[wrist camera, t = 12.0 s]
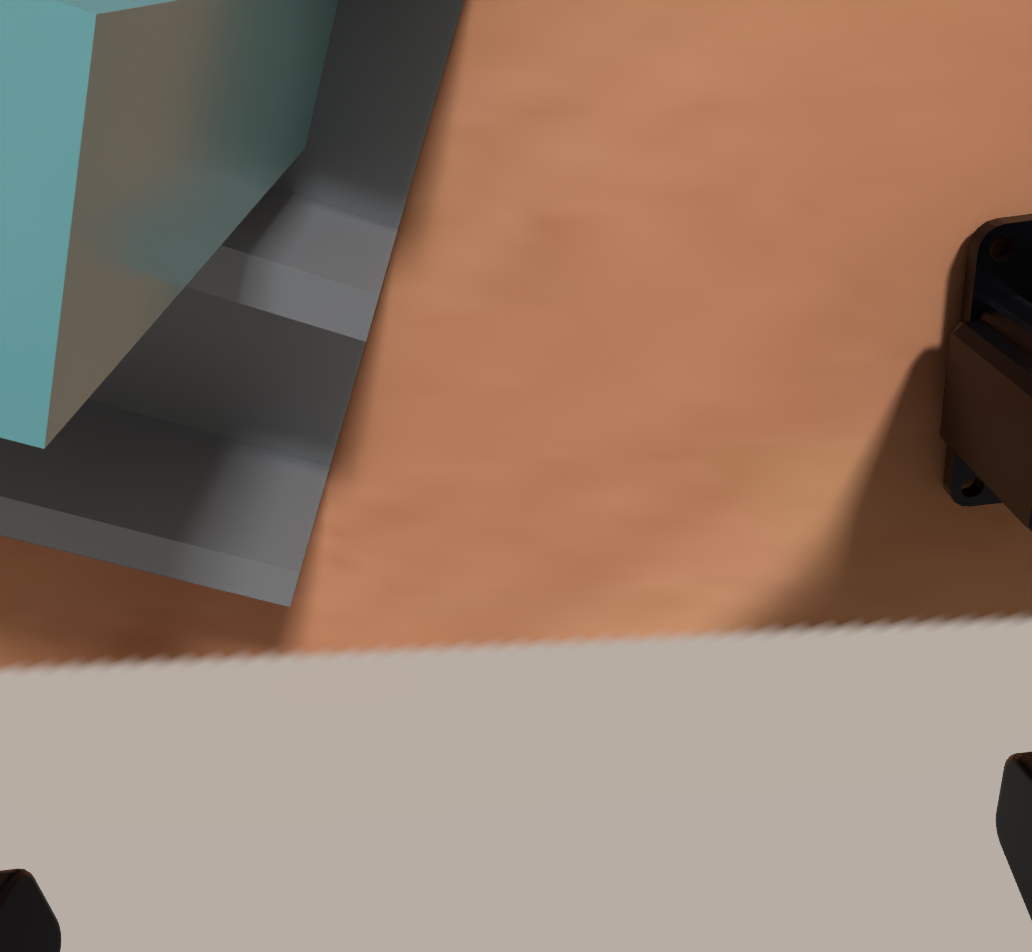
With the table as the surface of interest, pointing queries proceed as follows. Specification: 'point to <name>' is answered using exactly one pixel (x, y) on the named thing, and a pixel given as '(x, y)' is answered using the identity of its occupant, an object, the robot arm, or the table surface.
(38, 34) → the block
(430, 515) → the table surface
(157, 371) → the rack
